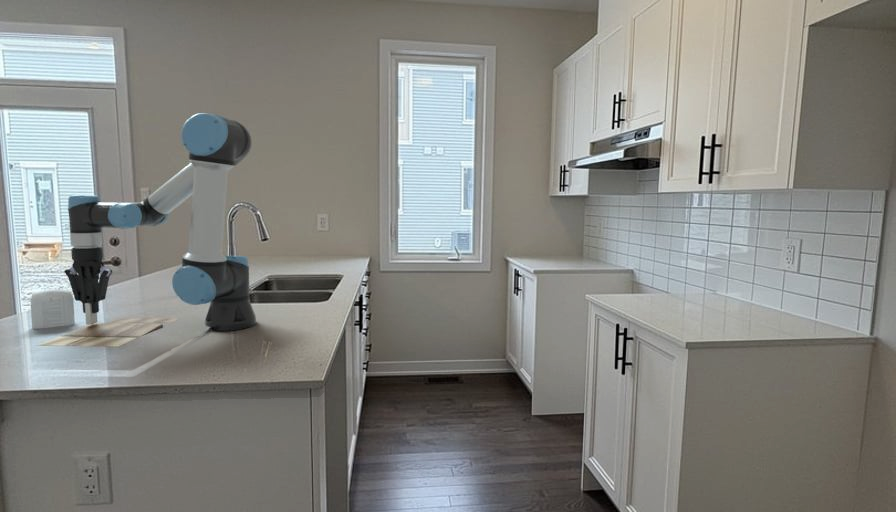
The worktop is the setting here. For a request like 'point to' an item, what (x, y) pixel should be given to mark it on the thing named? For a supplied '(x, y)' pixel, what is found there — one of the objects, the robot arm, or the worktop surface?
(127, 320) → the plank
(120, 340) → the light wood flat board
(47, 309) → the photo printer
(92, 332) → the plank
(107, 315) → the worktop surface
